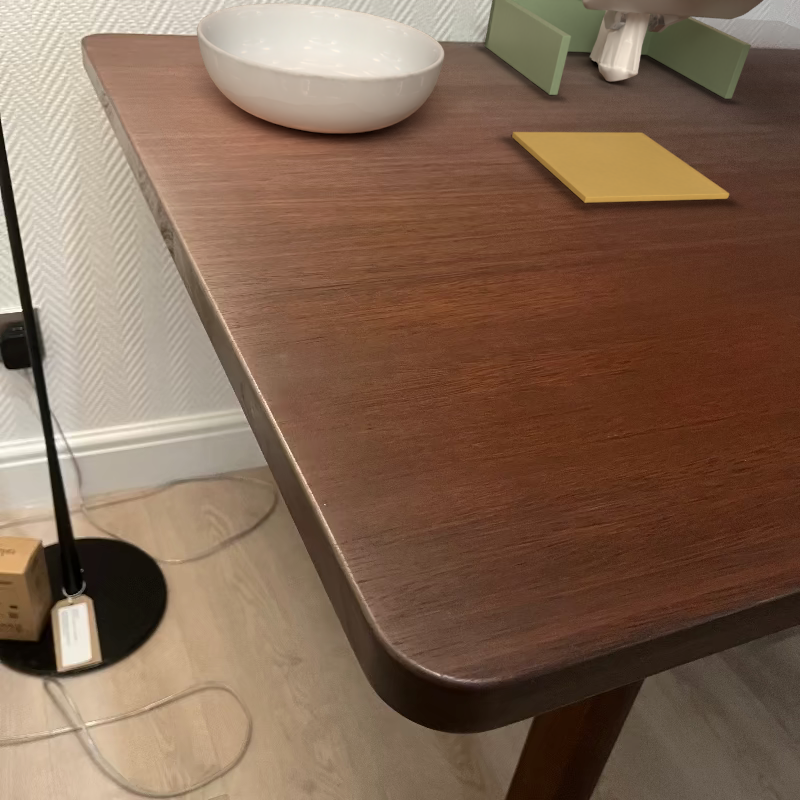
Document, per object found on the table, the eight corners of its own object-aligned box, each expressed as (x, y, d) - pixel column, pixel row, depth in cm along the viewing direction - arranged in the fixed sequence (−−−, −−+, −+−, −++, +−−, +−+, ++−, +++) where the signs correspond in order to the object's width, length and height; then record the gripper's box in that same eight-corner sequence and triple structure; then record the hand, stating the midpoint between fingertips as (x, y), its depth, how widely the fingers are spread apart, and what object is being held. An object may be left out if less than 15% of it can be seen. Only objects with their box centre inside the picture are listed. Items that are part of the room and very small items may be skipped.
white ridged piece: (632, 91, 91) (669, -15, 84) (596, 84, 91) (629, -24, 84) (620, 63, 101) (652, -35, 94) (587, 56, 101) (617, -42, 94)
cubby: (648, 52, 107) (664, -4, 103) (731, 99, 94) (754, 37, 90) (483, 45, 100) (494, -15, 95) (549, 95, 86) (565, 27, 82)
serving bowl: (151, 95, 71) (146, 11, 67) (329, 68, 84) (334, -4, 80) (303, 181, 61) (308, 88, 57) (480, 135, 74) (495, 56, 70)
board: (640, 137, 79) (642, 132, 79) (727, 199, 69) (729, 193, 68) (511, 137, 74) (512, 131, 74) (584, 203, 64) (586, 197, 64)
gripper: (630, -34, 74) (554, 47, 87) (804, -18, 80) (709, 55, 93) (619, -99, 74) (545, -9, 87) (792, -77, 81) (700, 4, 94)
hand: (631, 25), depth 90 cm, fingers closed on white ridged piece, 4 cm apart
